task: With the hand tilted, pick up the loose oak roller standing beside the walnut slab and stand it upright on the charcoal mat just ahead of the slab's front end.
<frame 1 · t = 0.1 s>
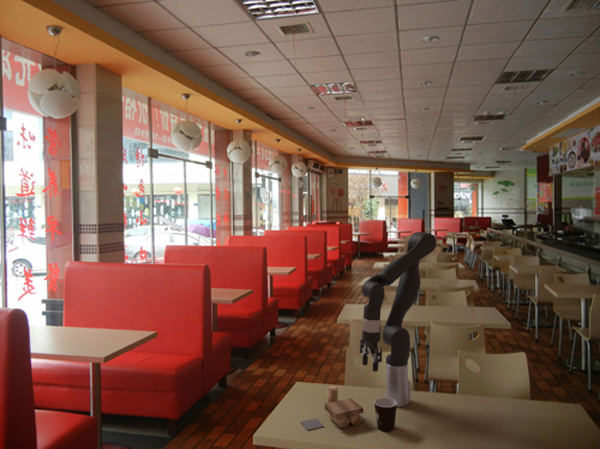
hand: (369, 368, 195), 17 cm above the table, tool pointing down, fingers open, 8 cm apart
slab: (344, 421, 184), on the table
roller: (332, 411, 194), on the table
coffee mug: (386, 426, 180), on the table
mat: (312, 424, 182), on the table
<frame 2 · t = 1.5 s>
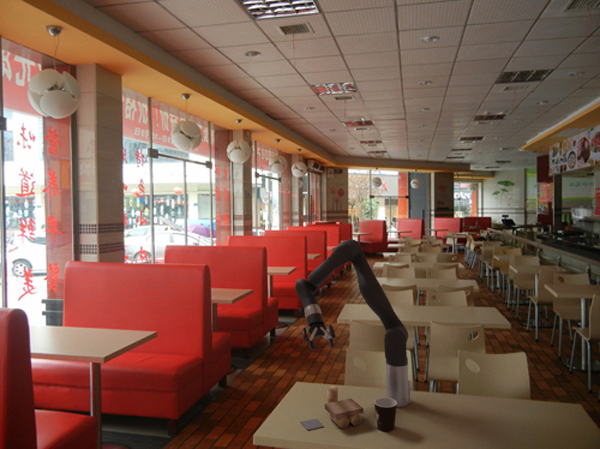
hand: (322, 348, 203), 23 cm above the table, tool tilted 45°, fingers open, 8 cm apart
nothing on the table moved.
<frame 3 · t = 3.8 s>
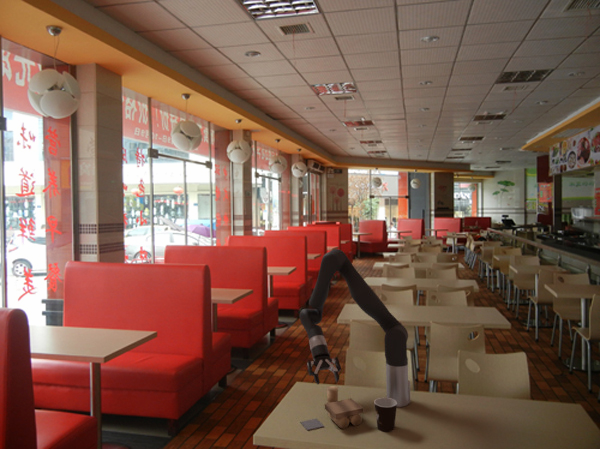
hand: (328, 382, 198), 10 cm above the table, tool tilted 45°, fingers open, 8 cm apart
nothing on the table moved.
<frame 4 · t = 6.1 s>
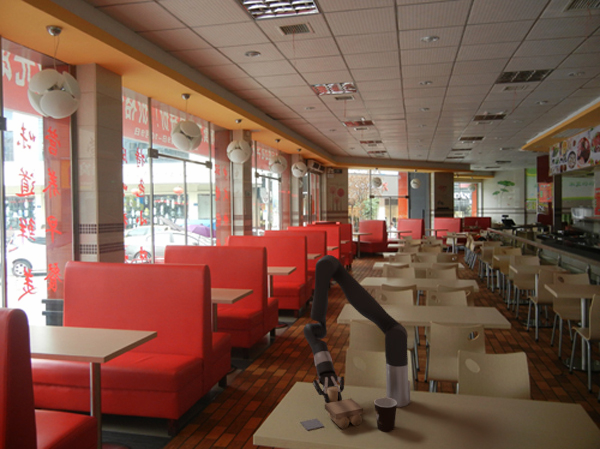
hand: (334, 402, 192), 5 cm above the table, tool tilted 45°, fingers closed on roller, 4 cm apart
roller: (333, 411, 194), on the table, touching gripper
everything else where it was.
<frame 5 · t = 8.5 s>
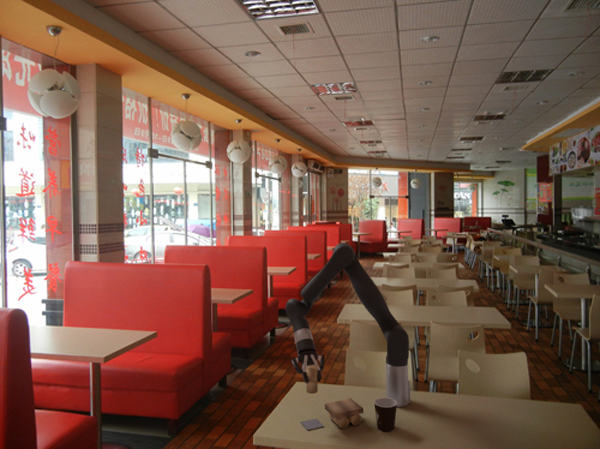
hand: (313, 381, 181), 17 cm above the table, tool tilted 45°, fingers closed on roller, 4 cm apart
roller: (312, 391, 184), point 13 cm above the table, touching gripper
everything else where it was.
when the fingers open (6 cm above the table, at t = 11.1 s): roller drops 1 cm, resting on mat.
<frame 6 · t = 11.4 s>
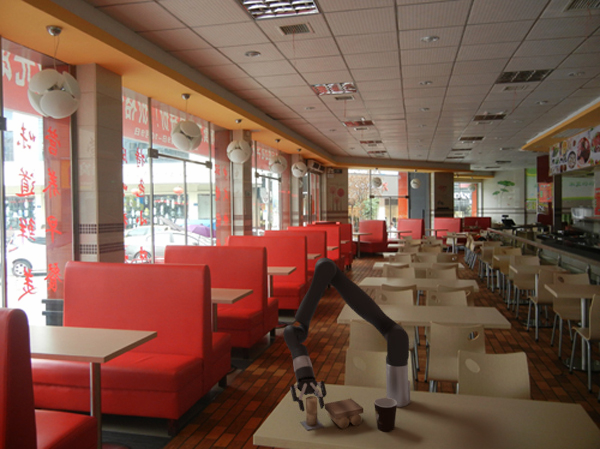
hand: (312, 409, 181), 7 cm above the table, tool tilted 45°, fingers open, 7 cm apart
roller: (312, 423, 183), resting on mat
everything else where it was.
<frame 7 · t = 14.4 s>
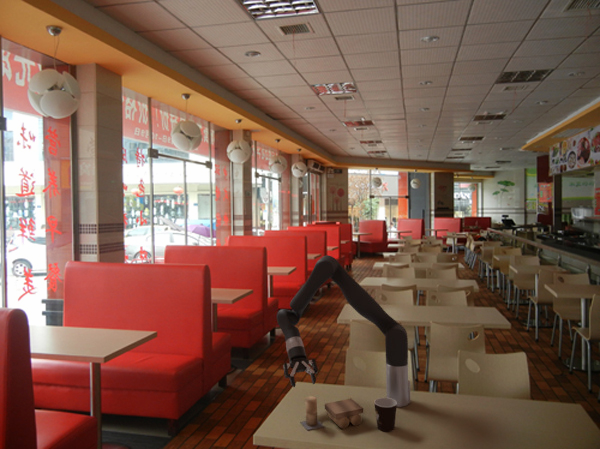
hand: (304, 384, 194), 11 cm above the table, tool tilted 45°, fingers open, 8 cm apart
nothing on the table moved.
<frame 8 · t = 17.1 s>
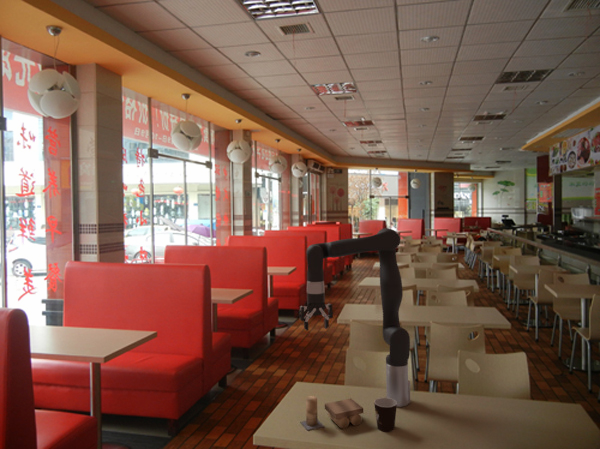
hand: (316, 329, 198), 33 cm above the table, tool pointing down, fingers open, 8 cm apart
nothing on the table moved.
at the end: roller 0.1 cm from the target spot, point 0.5 cm above the table; roller tilted 2°; the gripper is holding nothing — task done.
